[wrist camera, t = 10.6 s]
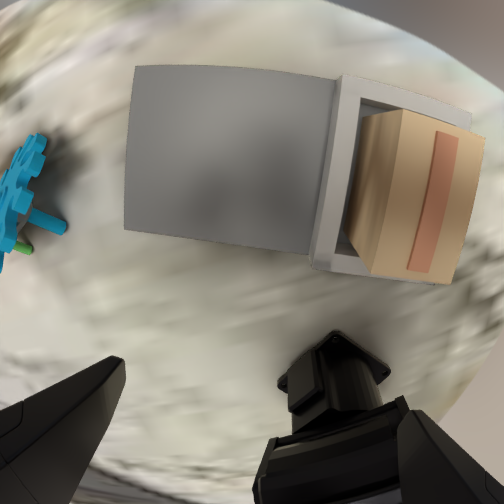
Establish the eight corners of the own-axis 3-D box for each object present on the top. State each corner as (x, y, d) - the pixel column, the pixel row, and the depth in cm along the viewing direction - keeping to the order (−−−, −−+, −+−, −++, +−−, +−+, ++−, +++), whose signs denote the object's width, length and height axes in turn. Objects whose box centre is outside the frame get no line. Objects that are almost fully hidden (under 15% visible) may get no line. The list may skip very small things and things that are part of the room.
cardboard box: (405, 241, 18) (452, 286, 12) (343, 230, 18) (371, 275, 12) (426, 134, 15) (487, 138, 9) (362, 117, 15) (405, 108, 10)
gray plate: (462, 120, 15) (488, 120, 13) (431, 267, 19) (450, 287, 16) (142, 68, 16) (120, 59, 13) (130, 225, 20) (109, 239, 17)
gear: (45, 99, 15) (3, 228, 11) (107, 140, 20) (99, 265, 16) (-14, 189, 19) (-38, 299, 15) (37, 213, 24) (26, 317, 20)
